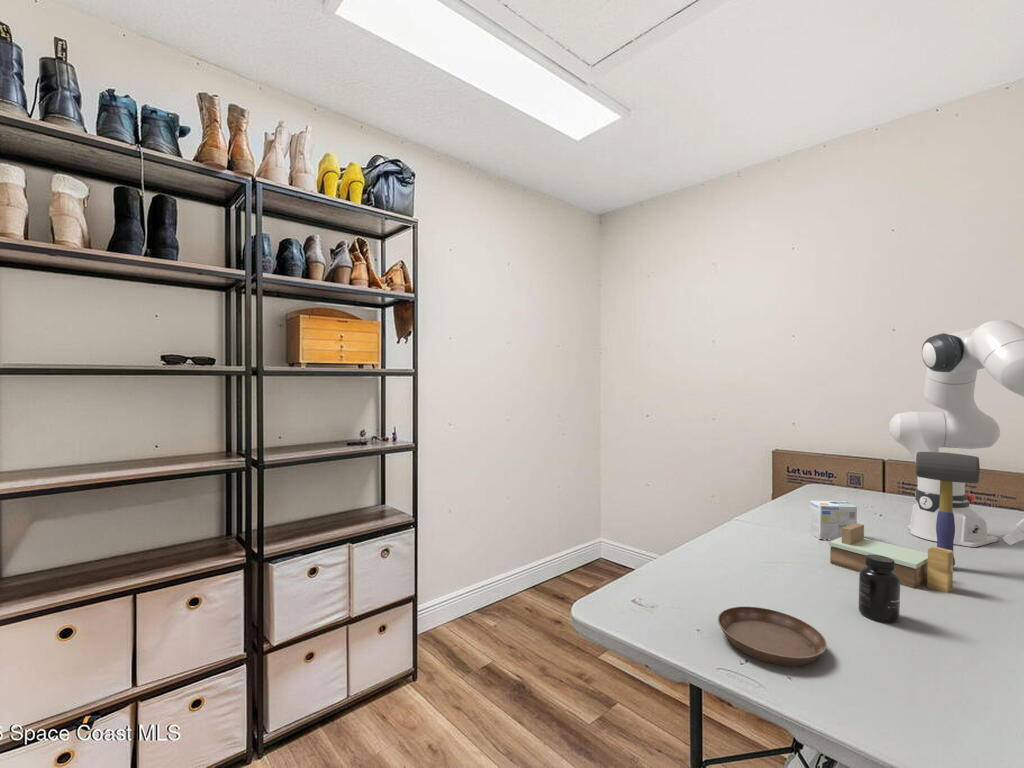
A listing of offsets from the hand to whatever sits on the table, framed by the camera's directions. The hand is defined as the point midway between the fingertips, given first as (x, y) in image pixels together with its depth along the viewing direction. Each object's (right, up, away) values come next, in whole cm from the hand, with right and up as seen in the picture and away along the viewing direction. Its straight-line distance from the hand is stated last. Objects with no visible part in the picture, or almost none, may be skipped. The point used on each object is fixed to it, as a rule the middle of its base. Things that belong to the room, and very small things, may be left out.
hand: (1013, 537), depth 104 cm
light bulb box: (-8, -15, +46) cm, 49 cm away
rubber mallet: (+6, -15, +23) cm, 28 cm away
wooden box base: (-13, -15, +21) cm, 29 cm away
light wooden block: (-6, -15, +10) cm, 20 cm away
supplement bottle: (-31, -15, -3) cm, 35 cm away
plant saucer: (-59, -16, -14) cm, 63 cm away
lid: (-13, -10, +20) cm, 26 cm away
